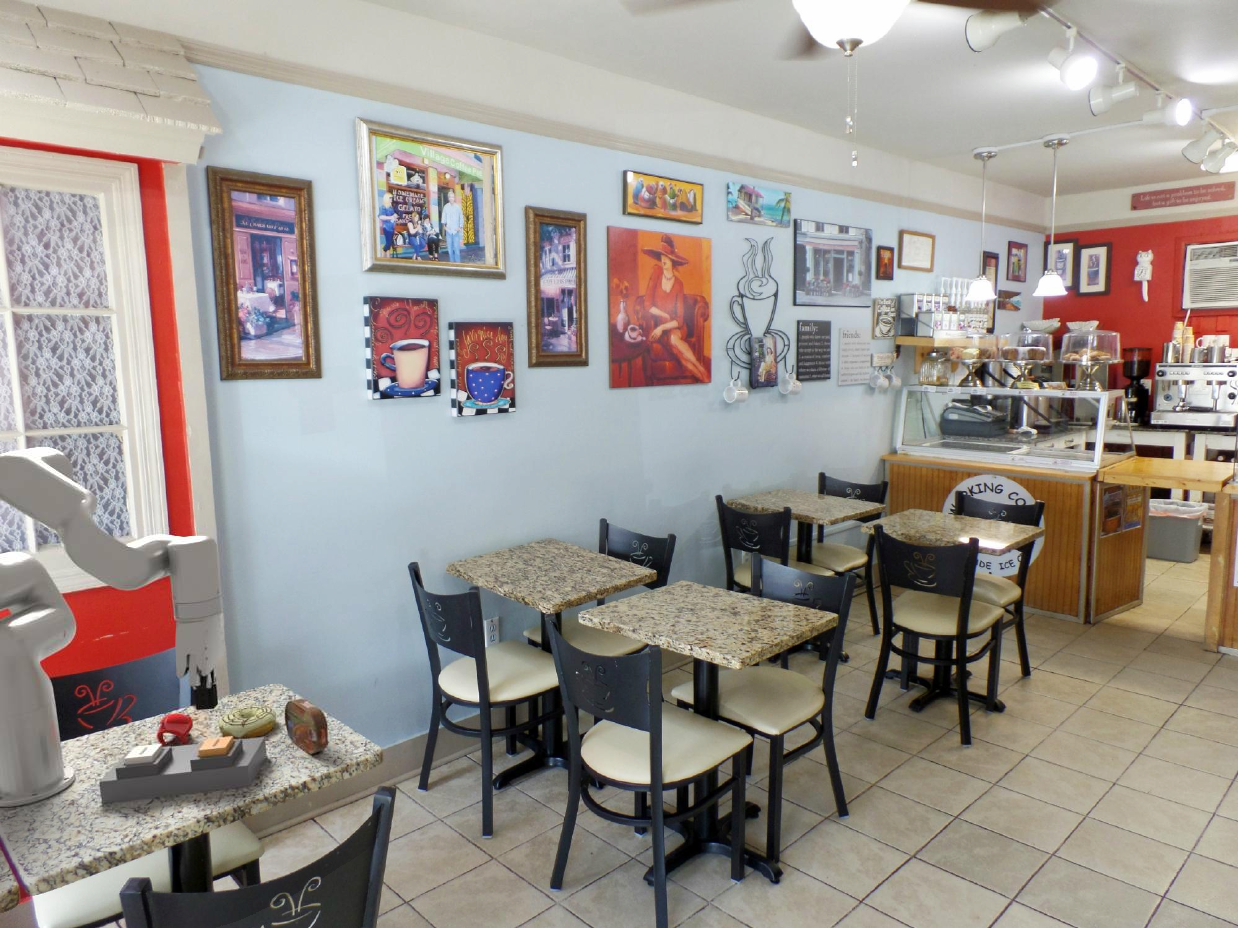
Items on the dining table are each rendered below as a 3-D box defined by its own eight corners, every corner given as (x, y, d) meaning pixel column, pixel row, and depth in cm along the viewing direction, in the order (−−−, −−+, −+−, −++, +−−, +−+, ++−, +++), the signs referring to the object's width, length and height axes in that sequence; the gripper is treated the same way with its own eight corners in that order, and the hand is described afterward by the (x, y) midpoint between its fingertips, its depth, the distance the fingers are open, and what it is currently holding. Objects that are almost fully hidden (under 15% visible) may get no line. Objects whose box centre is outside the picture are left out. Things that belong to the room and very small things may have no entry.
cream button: (126, 771, 139) (124, 757, 138) (136, 759, 143) (135, 745, 143) (153, 768, 139) (151, 754, 139) (163, 756, 144) (161, 743, 143)
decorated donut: (238, 747, 157) (236, 729, 156) (209, 734, 163) (207, 716, 163) (287, 726, 165) (285, 708, 165) (257, 714, 171) (256, 697, 171)
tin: (284, 736, 161) (281, 696, 159) (300, 730, 163) (296, 691, 162) (316, 761, 150) (312, 718, 149) (333, 754, 152) (329, 712, 151)
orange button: (199, 762, 141) (198, 749, 140) (208, 751, 145) (207, 738, 145) (226, 760, 141) (225, 746, 141) (234, 748, 146) (232, 735, 145)
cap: (187, 733, 156) (199, 707, 161) (154, 727, 155) (167, 701, 159) (185, 755, 161) (196, 729, 165) (153, 750, 159) (165, 723, 164)
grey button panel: (102, 803, 138) (97, 770, 137) (130, 771, 148) (126, 741, 148) (249, 786, 141) (246, 754, 140) (266, 756, 152) (263, 726, 151)
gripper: (191, 596, 147) (199, 692, 149) (157, 622, 132) (167, 728, 135) (234, 594, 148) (242, 689, 150) (205, 619, 133) (215, 724, 136)
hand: (207, 707), depth 142 cm, fingers closed
